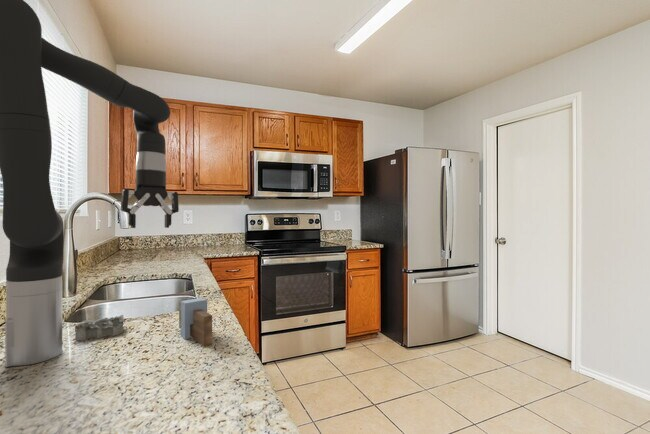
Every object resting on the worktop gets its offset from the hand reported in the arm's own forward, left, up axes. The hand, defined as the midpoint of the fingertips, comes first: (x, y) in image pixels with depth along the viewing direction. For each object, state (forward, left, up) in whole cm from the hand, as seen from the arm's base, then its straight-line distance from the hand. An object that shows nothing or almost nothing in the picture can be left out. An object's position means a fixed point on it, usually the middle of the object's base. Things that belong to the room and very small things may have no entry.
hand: (150, 227), depth 94 cm
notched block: (+6, -16, -27) cm, 32 cm away
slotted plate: (+7, -16, -27) cm, 32 cm away
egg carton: (-12, +2, -28) cm, 30 cm away
